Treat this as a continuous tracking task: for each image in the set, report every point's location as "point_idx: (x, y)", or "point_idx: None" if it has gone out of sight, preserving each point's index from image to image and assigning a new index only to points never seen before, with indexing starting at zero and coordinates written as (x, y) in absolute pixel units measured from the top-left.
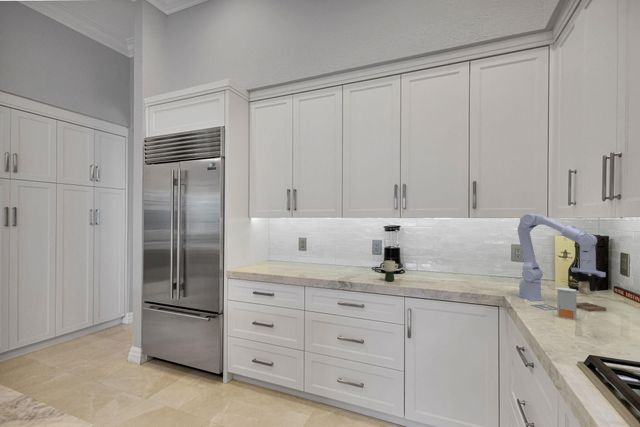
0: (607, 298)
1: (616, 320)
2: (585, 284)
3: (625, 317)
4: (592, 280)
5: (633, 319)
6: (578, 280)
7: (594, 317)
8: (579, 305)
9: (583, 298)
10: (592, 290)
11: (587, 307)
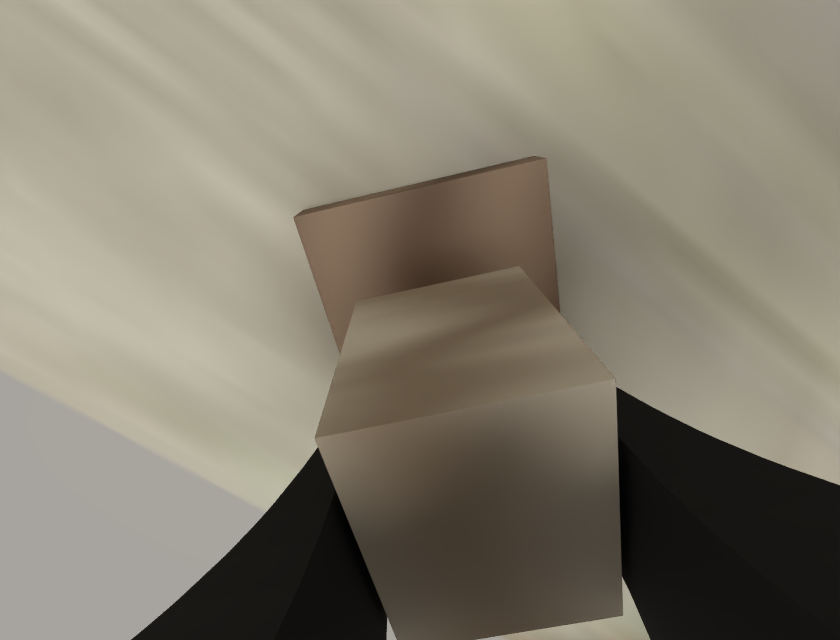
0: None
1: (3, 256)
2: (362, 402)
3: (161, 405)
4: (137, 636)
5: (108, 422)
6: (713, 452)
7: (50, 92)
8: (441, 201)
9: None
10: None
11: (347, 232)
